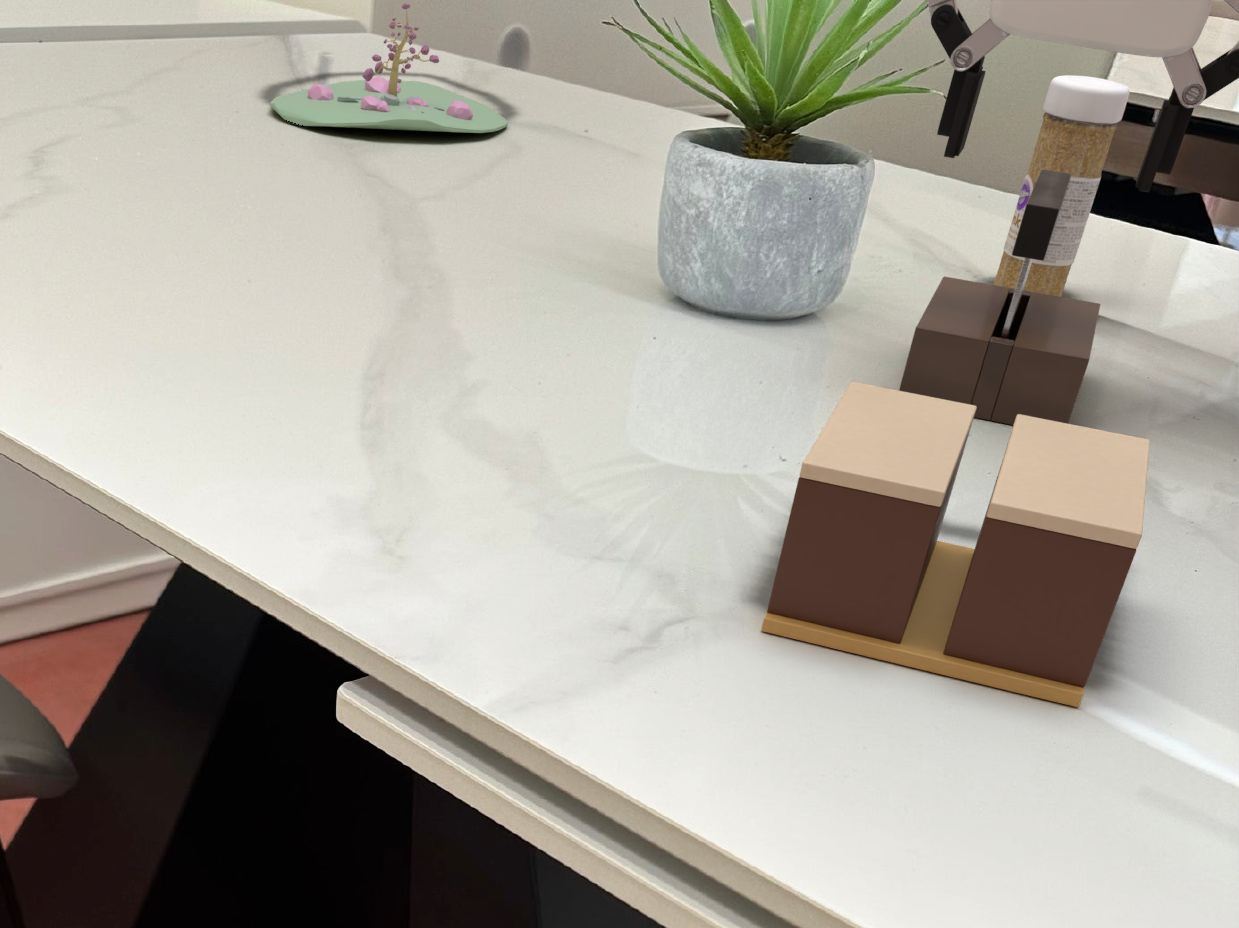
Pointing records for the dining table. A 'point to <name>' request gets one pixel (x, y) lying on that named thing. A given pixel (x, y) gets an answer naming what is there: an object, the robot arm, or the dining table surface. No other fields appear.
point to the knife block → (1001, 351)
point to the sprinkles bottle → (1068, 145)
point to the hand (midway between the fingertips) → (1046, 170)
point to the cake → (951, 574)
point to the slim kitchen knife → (1036, 230)
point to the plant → (388, 100)
